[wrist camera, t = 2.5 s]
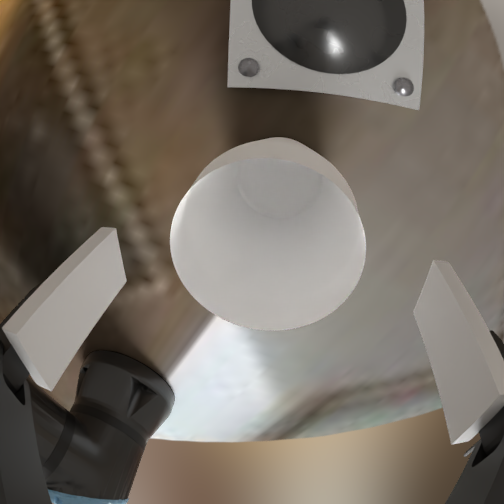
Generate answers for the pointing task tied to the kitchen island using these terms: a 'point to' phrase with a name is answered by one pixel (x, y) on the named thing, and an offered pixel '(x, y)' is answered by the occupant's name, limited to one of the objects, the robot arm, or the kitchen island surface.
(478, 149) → the kitchen island surface
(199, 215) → the cup
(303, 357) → the kitchen island surface
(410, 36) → the flange
